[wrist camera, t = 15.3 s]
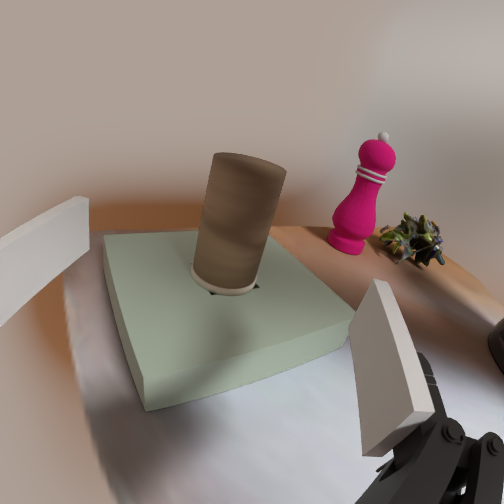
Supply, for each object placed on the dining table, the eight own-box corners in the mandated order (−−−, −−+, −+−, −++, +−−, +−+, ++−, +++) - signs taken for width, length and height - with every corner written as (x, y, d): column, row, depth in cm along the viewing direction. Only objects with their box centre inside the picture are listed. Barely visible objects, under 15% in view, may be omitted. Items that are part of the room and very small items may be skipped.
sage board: (253, 257, 37) (261, 228, 35) (341, 347, 26) (359, 315, 24) (103, 270, 27) (103, 235, 25) (145, 412, 16) (143, 377, 14)
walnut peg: (228, 286, 29) (261, 156, 23) (256, 322, 25) (303, 178, 20) (177, 293, 26) (200, 149, 20) (200, 334, 22) (234, 170, 17)
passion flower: (404, 285, 53) (455, 261, 45) (384, 286, 46) (445, 257, 38) (385, 235, 57) (432, 208, 49) (362, 227, 50) (418, 194, 42)
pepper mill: (316, 239, 47) (356, 120, 38) (335, 232, 52) (371, 128, 43) (354, 261, 43) (401, 136, 34) (369, 251, 49) (410, 143, 40)
